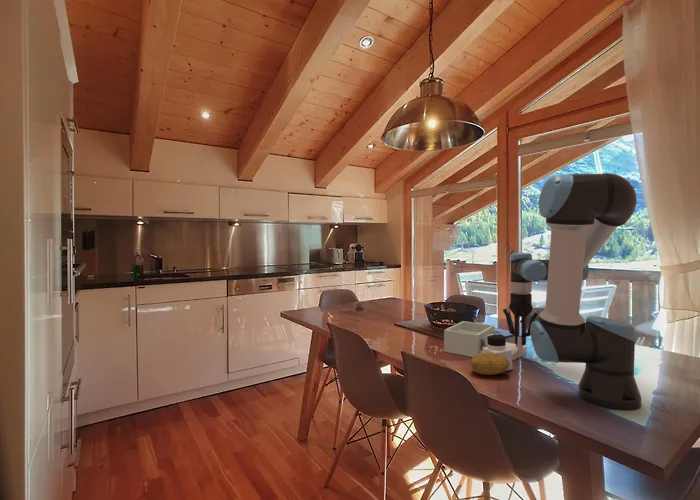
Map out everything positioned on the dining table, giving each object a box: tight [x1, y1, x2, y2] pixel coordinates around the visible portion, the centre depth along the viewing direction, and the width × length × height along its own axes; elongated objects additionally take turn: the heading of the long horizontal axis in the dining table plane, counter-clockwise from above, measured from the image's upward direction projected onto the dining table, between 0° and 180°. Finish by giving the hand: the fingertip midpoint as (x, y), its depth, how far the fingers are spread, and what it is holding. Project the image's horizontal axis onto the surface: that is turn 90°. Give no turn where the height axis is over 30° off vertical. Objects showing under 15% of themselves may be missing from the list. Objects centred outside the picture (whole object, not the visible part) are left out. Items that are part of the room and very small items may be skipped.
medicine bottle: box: [483, 333, 514, 371], centre depth 135 cm, size 7×7×12 cm
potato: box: [469, 353, 509, 376], centre depth 130 cm, size 9×13×7 cm
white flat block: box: [480, 342, 528, 362], centre depth 151 cm, size 18×11×4 cm, turn 134°
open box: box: [443, 320, 496, 358], centre depth 158 cm, size 20×18×9 cm
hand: (520, 352), depth 147 cm, fingers closed
